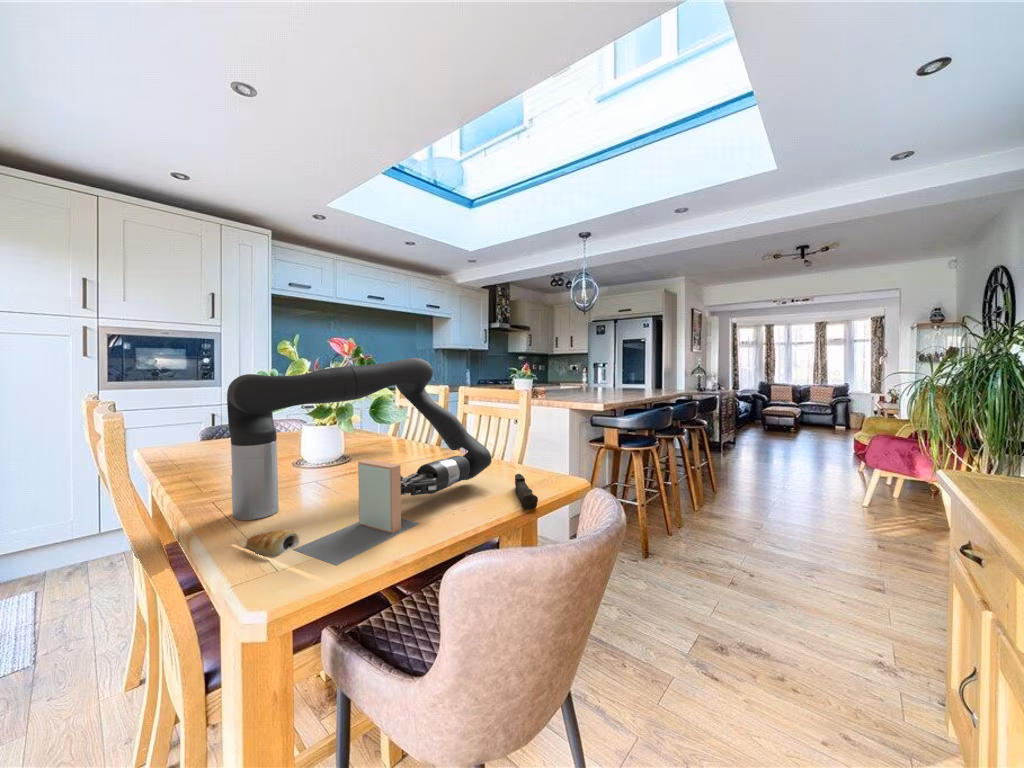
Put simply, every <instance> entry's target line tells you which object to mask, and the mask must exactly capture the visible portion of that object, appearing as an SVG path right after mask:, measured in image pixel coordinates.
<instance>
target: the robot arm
mask: <svg viewBox="0 0 1024 768" xmlns="http://www.w3.org/2000/svg"><path fill="white" fill-rule="evenodd" d="M433 374H434V369H433V367H432V365H431V364H430V363H429V362H428V361H427V360H425V359H422V358H419V357H418V358H417V357H410V358H404V359H400V360H394V361H390V362H383V363H382V362H381V363H372V364H370V363H369V364H363V365H348V366H347V365H345V366H337V367H335V366H334V367H329V368H324V369H319V370H315V371H314V370H313V371H311V372H307V373H301V374H296V375H295V374H294V375H262V374H254V373H253V374H252V373H250V374H249V373H247V374H241V375H239V376H238V377H236V378H235V379H233V380H232V381H231V382H230V384H229V385H228V387H227V393H226V402H227V403H226V405H227V408H226V409H227V420H228V421H227V422H228V423H227V425H228V431H229V436H230V452H231V453H230V454H231V455H230V456H231V457H230V458H231V476H230V477H231V500H232V501H231V503H232V504H231V505H232V515H233V518H234V519H235V520H239V521H251V520H257V519H258V520H259V519H263V518H266V517H269V516H272V515H274V514H276V513H278V511H279V479H278V478H279V477H278V474H279V473H278V472H279V471H278V442H277V439H278V438H277V436H278V435H277V429H276V427H275V421H274V417H273V415H274V414H273V412H275V411H278V410H281V409H287V408H291V407H295V406H301V405H313V404H314V405H316V404H320V405H321V404H332V403H342V402H348V401H349V402H350V401H354V400H359V399H363V398H366V397H367V396H370V395H373V394H375V393H377V392H380V391H382V390H384V389H387V388H389V387H393V386H396V388H397V389H398V391H399V392H400V393H401V395H402V396H404V397H405V399H406V400H407V401H408V402H410V404H412V406H413V407H415V409H416V410H418V412H419V413H420V414H421V415H422V416H423V417H424V418H425V419H426V420H427V421H428V422H429V423H430V424H431V426H432V427H433V428H434V429H435V431H436V432H437V433H438V435H439V436H440V437H441V439H442V441H444V444H446V445H447V447H448V448H449V449H450V450H451V451H457V450H460V449H461V448H462V449H463V450H465V451H466V453H464V454H463V455H453V456H450V457H447V458H440V459H437V460H435V461H432V462H431V461H430V462H428V463H425V464H422V465H421V466H420V467H419V468H418V469H417V471H416V472H414V473H411V474H409V475H408V476H406V477H403V476H402V475H401V496H402V495H403V496H407V495H410V496H420V495H431V494H432V495H433V494H436V493H437V492H440V491H442V490H445V489H447V488H450V487H451V486H453V485H454V484H456V483H458V482H462V481H468V480H471V479H473V478H475V477H476V476H478V475H479V474H480V473H482V472H483V471H484V470H486V469H487V468H488V467H489V466H490V465H491V464H492V455H491V452H490V451H489V449H488V448H487V447H486V446H485V445H483V444H482V443H481V442H480V441H478V440H477V438H474V437H473V436H472V435H471V434H470V433H469V432H468V431H467V429H466V428H465V427H464V425H463V424H462V423H461V422H460V420H459V419H458V418H457V417H456V416H455V415H454V413H452V411H451V412H450V411H449V410H448V409H446V408H444V407H442V406H441V405H439V404H438V403H436V402H435V401H434V400H433V399H432V397H430V395H429V393H428V392H427V390H426V387H427V385H429V383H430V382H431V380H432V379H433V378H432V377H433Z"/></svg>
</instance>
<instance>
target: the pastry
mask: <svg viewBox="0 0 1024 768" xmlns="http://www.w3.org/2000/svg"><path fill="white" fill-rule="evenodd" d="M300 539H301V538H300V536H299V534H298V533H297V532H295V531H294V530H292V531H288V530H285V529H277V530H270V531H267V532H264V533H263V532H262V533H260V534H256V535H253V536H251V537H249V538H248V539H247V541H246V544H245V545H246V548H247V549H248V550H251V551H250V552H253V553H254V552H255V553H254V554H255V555H256V554H257V556H258V554H259V556H263V557H266V556H274V557H276V556H277V557H278V556H279V555H281V554H284V553H285V552H287V551H288V550H290V549H294V548H296V546H297V547H298V545H299V543H300Z"/></svg>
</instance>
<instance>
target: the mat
mask: <svg viewBox="0 0 1024 768" xmlns="http://www.w3.org/2000/svg"><path fill="white" fill-rule="evenodd" d="M420 524H421V522H418V521H415V520H414V521H413V520H409V519H408V518H407V519H405V518H403V517H401V530H399V531H397V532H395V533H393V534H392V533H388V532H385V531H381V530H378V529H374V528H370V527H367V526H363V525H360V524H359V521H357V522H355V523H353V524H351V525H347V526H346V527H343V528H341V529H338V530H336V531H334V532H331V533H329V534H326V535H324V536H321V537H319V538H317V539H314V540H312V541H310V542H307V543H305V544H303V545H300V546H297V547H294V548H292V551H295V552H298V553H300V554H304V555H305V556H309V557H311V558H315V559H317V560H320V561H323V562H325V563H327V564H328V563H329V564H330V565H334V566H338V565H341V564H343V563H345V562H346V561H348V560H351V559H352V558H354V557H356V556H358V555H361V554H362V553H365V552H366V551H368V550H371V549H372V548H374V547H376V546H378V545H380V544H382V543H384V542H386V541H388V540H390V539H392V538H394V537H396V536H398V535H400V534H402V533H404V532H406V531H408V530H410V529H412V528H414V527H416V526H418V525H420Z"/></svg>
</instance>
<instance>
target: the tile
mask: <svg viewBox="0 0 1024 768" xmlns="http://www.w3.org/2000/svg"><path fill="white" fill-rule="evenodd" d="M357 466H358V467H357V468H358V474H357V475H358V512H359V513H358V516H359V518H358V519H359V520H358V522H359V524H360V525H363V526H367V527H370V528H374V529H378V530H381V531H385V532H388V533H392V534H393V533H395V532H397V531H399V530H401V518H402V495H401V476H402V475H401V465H400V464H396V463H390V462H384V461H378V460H373V459H365V460H360V461H358V462H357Z"/></svg>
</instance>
